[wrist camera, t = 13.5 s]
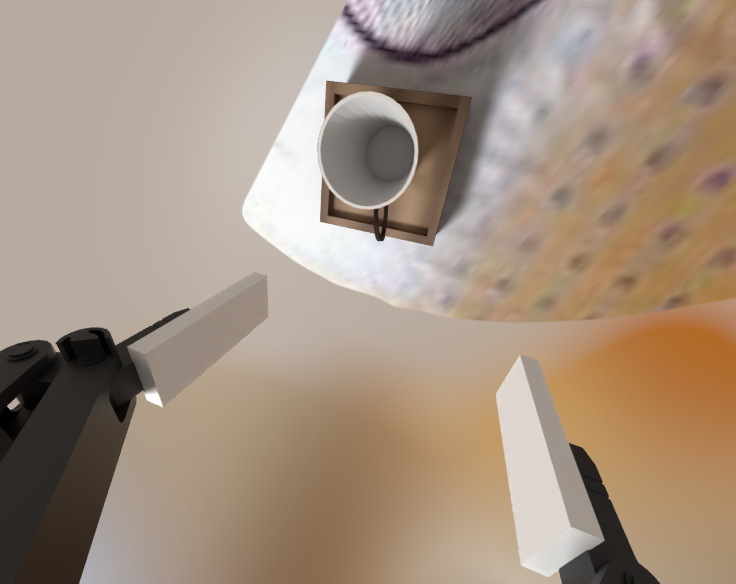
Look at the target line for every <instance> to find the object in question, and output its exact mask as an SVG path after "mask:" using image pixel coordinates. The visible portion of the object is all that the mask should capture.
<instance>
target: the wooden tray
mask: <svg viewBox="0 0 736 584" xmlns="http://www.w3.org/2000/svg"><path fill="white" fill-rule="evenodd" d="M364 91H372V92H378V93H382V94H384V95H386V96H388V97H390V98H392V99H393V100H395V101H396V102H397V103H398V104H400V105H401V106H402V108H403V109H404V110H405V111H406V113H407V114H408V115H409V117H410V119H411V121H412V123H413V125H414V128H415V131H416V135H417V139H418V147H419V158H418V162H417V166H416V170H415V173H414V176H413V178H412V180H411V182H410V184H409V186H408V187H407V188H406V190H405V191H404V193H403V194H402V195H400V196H399V197H398V198H397V199H396V200H395V201H393V202H392V203H390V204H389V205H388V218H387V228H386V234H385V236H388V237H393V238H397V239H402V240H407V241H411V242H416V243H420V244H425V245H430V246H433V244H434V240H435V236H436V232H437V229H438V225H439V221H440V217H441V213H442V209H443V206H444V202H445V198H446V194H447V190H448V187H449V183H450V179H451V175H452V171H453V167H454V164H455V160H456V156H457V152H458V148H459V145H460V141H461V137H462V133H463V129H464V125H465V122H466V118H467V114H468V110H469V106H470V103H471V99H472V97H467V96H458V95H449V94H440V93H431V92H422V91H414V90H405V89H396V88H387V87H378V86H369V85H360V84H351V83H343V82H334V81H326V99H325V118H326V116H327V115H328V114H329V112H330V111H331V109H332V108H333V107H334V106H335V105H336V104H337V103H338V102H339V101H340V100H342V99H344V98H345V97H347V96H349V95H351V94H354V93H358V92H364ZM373 216H374V209H371V210H368V209H359V208H355V207H352V206H350V205H348V204H346V203H344V202H343V201H341V200H340V199H339V198H337V197H336V196H335V195H334V193H333V192H332V191H331V190H330V189H329V187H328V186H327V184H326V182H325V181H324V178H323V176H322V191H321V213H320V222H324V223H328V224H333V225H338V226H342V227H347V228H351V229H356V230H361V231H365V232H370V233H374V234H375V232H374V226H373ZM383 217H384V207H381V208H379V209H378V223H379V231H380V234H381V231H382V226H383Z"/></svg>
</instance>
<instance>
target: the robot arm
mask: <svg viewBox="0 0 736 584" xmlns="http://www.w3.org/2000/svg"><path fill="white" fill-rule="evenodd" d="M267 317H268V297H267V276H266V275H263V274H259V273H256V272H254V273H252V274H250V275H249V276H247V277H245V278H244V279H242V280H240V281H239V282H237V283H235V284H233V285H232V286H230V287H228V288H227V289H225V290H223V291H221V292H220V293H218V294H216V295H215V296H213V297H211V298H210V299H208V300H206V301H204V302H203V303H201V304H199V305H198V306H196V307H194V308H193V309H189V308H187V309H184V310H181V311H178V312H174V313H172V314H171V315H169V316H167V317H165V318H163V319H162V321H158V322H156V323H155V324H153V326H149V327H148V328H146V329H144V330H142V331H140V332H139V333H137V334H135V335H133V336H132V337H130V338H128V339H126V340H124V341H123V342H121V343H119V344H117V345H115V344H114V341H113V339H112V336H111V334H110V332H109V331H108V330H107V329H103V328H86V329H81V330H77V331H74V332H71V333H69V334H67V335H65V336H63V337H62V338H60V339H59V340H58V341H57V342H56V344H57V346H58V348H59V350H60V352H55V350H54V348H53V346H52V345H51V343H49V342H48V341H43V340H34V341H27V342H22V343H18V344H16V345H13V346H10V347H8V348H6V349H4V350H2V351H0V584H79V582H80V578H81V576H82V573H83V569H84V566H85V563H86V560H87V556H88V553H89V550H90V547H91V544H92V541H93V538H94V535H95V531H96V528H97V525H98V522H99V519H100V516H101V513H102V509H103V506H104V503H105V500H106V497H107V494H108V490H109V487H110V484H111V481H112V478H113V475H114V472H115V468H116V465H117V462H118V459H119V456H120V453H121V449H122V446H123V443H124V440H125V437H126V434H127V431H128V427H129V424H130V421H131V418H132V415H133V412H134V408H135V405H136V395H137V394H139V393H140V392H141V391H142V390H143V391H144V393H145V396H146V399H147V400H148V401H150V402H152V403H155V404H157V405H159V406H161V407H164V406H165V405H166V404H168V403H169V402H170V401H171V400H172V399H173V398H175V397H176V396H177V395H178V394H179V393H180V392H182V391H183V390H184V389H185V388H186V387H187V386H188V385H190V384H191V383H192V382H193V381H194V380H195V379H197V378H198V377H199V376H200V375H201V374H202V373H204V372H205V371H206V370H207V369H208V368H209V367H211V366H212V365H213V364H214V363H215V362H216V361H217V360H219V359H220V358H221V357H222V356H223V355H224V354H226V353H227V352H228V351H229V350H230V349H231V348H232V347H233V346H235V345H236V344H237V343H238V342H240V341H241V340H242V339H243V338H244V337H245V336H247V335H248V334H249V333H250V332H251V331H252V330H253V329H254V328H256V327H257V326H258V325H259V324H260V323H262V322H263V321H264V320H265V319H266V318H267ZM15 398H17V400H18V401H19V402H20V404H19V405H17V406H16V407H15V408H14V409H12V410H10V409H9V408H8V407H7V405H8V404H9V403H11V402H12V401H13V400H14V399H15ZM496 400H497V407H498V413H499V420H500V427H501V434H502V441H503V447H504V454H505V461H506V468H507V474H508V481H509V488H510V495H511V502H512V508H513V515H514V522H515V529H516V535H517V542H518V548H519V556H520V563H521V566H524V567H526V568H528V569H530V570H533V571H535V572H537V573H539V574H542V575H544V576H546V577H549V576H551V575H552V574H554V573H555V572H557V571H559V572H560V577H561V581H562V584H660V583H659V582H658V581H657V579H656V578H655V577H654V576H653V575H652V574H651V573H650V572H649V571H648V570H647V569H645V568H644V567H643V566H642V565H640V564H639V563H638V561H637V560H636V558H635V556H634V553H633V551H632V549H631V546H630V544H629V542H628V539H627V537H626V535H625V532H624V530H623V528H622V526H621V523H620V521H619V518H618V516H617V514H616V512H615V509H614V507H613V505H612V502H611V500H609V498H608V497H609V495H608V493H607V491H606V488H605V486H604V485H603V484H602V482H603V481H602V479H601V477H600V475H599V472H598V470H597V468H596V465H595V464H594V462H593V461H592V460H591V458H590V457H589V456H588V455H587V453H586V452H585V450H584V449H583V448H582V447H579V446H576V445H573V444H570V443H568V440H567V438H566V435H565V432H564V430H563V427H562V424H561V421H560V419H559V416H558V413H557V411H556V408H555V405H554V403H553V400H552V397H551V395H550V392H549V390H548V387H547V384H546V381H545V379H544V376H543V373H542V370H541V368H540V365H539V362H538V360H535V359H532V358H529V357H526V356H523V355H520V356H519V357H518V359H517V361H516V362H515V364H514V365H513V367H512V369H511V371H510V372H509V374H508V375H507V377H506V379H505V380H504V382H503V384H502V385H501V387H500V389H499V390H498V392H497V394H496Z"/></svg>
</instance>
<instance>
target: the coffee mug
mask: <svg viewBox="0 0 736 584" xmlns="http://www.w3.org/2000/svg"><path fill="white" fill-rule="evenodd" d="M317 152H318V162H319V167H320V171H321V173H322V176H323V178H324V181H325V182H326V184H327V186H328V187H329V189H330V190H331V191H332V192H333V193H334V195H335V196H336V197H337V198H339V199H340V200H341V201H343V202H344V203H346V204H348V205H350V206H352V207H355V208H359V209H368V210H371V209H374V216H373V226H374V232H375V237H376V239H377V241H383V240H384V238H385V234H386V228H387V218H388V205H389V204H390V203H392V202H393V201H395V200H396V199H397V198H398V197H399V196H400V195H402V194H403V193H404V191H405V190H406V188H407V187H408V186H409V184H410V182H411V180H412V178H413V176H414V173H415V170H416V166H417V162H418V158H419V147H418V139H417V135H416V131H415V128H414V125H413V123H412V121H411V119H410V117H409V115H408V114H407V113H406V111H405V110H404V109H403V108H402V106H401V105H400V104H398V103H397V102H396V101H395V100H393V99H392V98H390V97H388V96H386V95H384V94H382V93H378V92H372V91H364V92H358V93H354V94H351V95H349V96H347V97H345V98H344V99H342V100H340V101H339V102H338V103H337V104H336V105H335V106H334V107H333V108H332V109H331V111H330V112H329V114H328V115H327V116H326V118H325V120H324V122H323V125H322V127H321V130H320V134H319V138H318V148H317ZM381 207H384V217H383V226H382V231H381V234H380V231H379V223H378V209H379V208H381Z"/></svg>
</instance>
